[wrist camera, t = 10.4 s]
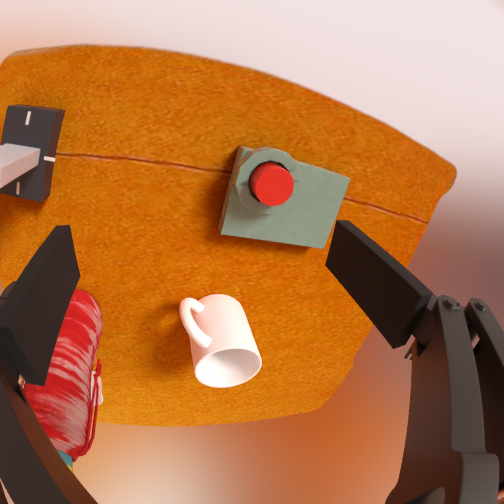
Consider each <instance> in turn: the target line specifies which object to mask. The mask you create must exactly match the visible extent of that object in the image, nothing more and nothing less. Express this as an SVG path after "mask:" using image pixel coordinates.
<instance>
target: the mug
mask: <svg viewBox="0 0 504 504" xmlns="http://www.w3.org/2000/svg"><path fill="white" fill-rule="evenodd" d="M179 312H180V317H181V321H182V323H183V325H184V328H185V329H186V331H187V333H188V334H189V338H190V345H191V352H192V359H193V366H194V372H195V376H196V378H197V379H198V380H199V381H200V382H201V383H203V384H205V385H208V386H211V387H219V388H223V387H232V386H236V385H239V384H242V383H244V382H246V381H248V380H249V379H251V378H252V377H254V376H255V375H256V374H257V373H258V371H259V370H260V368H261V364H262V360H261V357H260V354H259V351H258V349H257V346H256V343H255V340H254V338H253V335H252V332H251V330H250V327H249V324H248V321H247V319H246V316H245V313H244V310H243V308H242V306H241V305H240V303H239V302H238V301H237V300H236V299H234V298H233V297H230V296H228V295H224V294H213V295H208V296H205V297H203V298H201V299H199V300H198V301H197V300H195V299H193V298H185V299H183V300H182V301H181V303H180V307H179Z"/></svg>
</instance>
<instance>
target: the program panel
mask: <svg viewBox="0 0 504 504" xmlns="http://www.w3.org/2000/svg"><path fill="white" fill-rule="evenodd" d="M64 113H65V110H61V109H54V108H46V107H38V106H29V105H19V104H18V105H10V106H8V108H7V113H6V118H5V123H4V129H3V135H2V141H1V145H4V144H7V143H8V144H14V145H21V146H27V147H33V148H39V149H40V155H39V162H38V165H37V166H36V167H34V168H32V169H30V170H29V171H27V172H25V173H24V174H22V175H20V176H19V177H17V178H16V179H14V180H12V181H11V182H9V183H8V184H6V185H5V186H3V187H2V188H0V193H2V194H7V195H11V196H16V197H20V198H25V199H29V200H33V201H38V202H42V201H44V200H45V199H46V198H47V197H48V196H49V195H50V187H51V179H52V172H53V165H54V162H55V159H56V158H55V154H56V148H57V143H58V138H59V134H60V129H61V125H62V121H63V117H64Z"/></svg>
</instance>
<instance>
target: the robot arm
mask: <svg viewBox="0 0 504 504" xmlns="http://www.w3.org/2000/svg"><path fill="white" fill-rule="evenodd" d="M325 266H326V267H327V268H328V269H329V270H330V271H331V273H332V274H333V275H334V276H335V277H336V278H337V280H338V281H339V282H340V283H341V284H342V286H343V287H344V288H345V289H346V290H347V292H348V293H349V294H350V295H351V297H352V298H353V299H354V300H355V301H356V303H357V304H358V305H359V306H360V308H361V309H362V310H363V311H364V312H365V314H366V315H367V316H368V317H369V319H370V320H371V321H372V322H373V324H374V325H375V326H376V327H377V329H378V330H379V331H380V333H381V334H382V335H383V336H384V338H385V339H386V340H387V341H388V343H389V344H390V345H391V347H392V348H393V349H394V348H397V347H400V346H403V345H405V344H406V343H407V341H408V339H409V338H410V336H411V334H412V335H413V336H414V337H415V338H416V339H415V340H414V342H413V344H412V345H411V347H410V348H409V350H408V352H407V353H406V355H405V358H407V357H408V356H409V354H412V356H411V358H410V360H412V376H411V377H412V378H411V394H410V407H409V417H408V427H407V434H406V441H405V448H404V453H403V459H402V465H401V470H400V474H399V479H398V482H397V484H396V486H395V487H394V489H393V490H392V491H391V493H390V494H389V496H388V498H387V499H386V502H385V504H504V331H503V329H502V328H501V326H500V324H499V323H498V321H497V319H496V318H495V316H494V315H493V313H492V311H491V310H490V308H489V307H488V306H487V304H485V303H484V301H483V300H481V299H477V298H471V299H470V300H469V302H468V304H467V306H466V307H461V305H460V304H459V303H458V302H457V301H456V300H454V299H453V298H451V297H449V296H445V295H442V296H439V297H437V296H436V295H434V293H432V292H431V291H430V290H429V289H428V288H427V287H426V286H425V285H424V284H423V283H422V282H420V281H419V280H418V279H417V278H416V277H415V276H414V275H413V274H412V273H410V271H408V270H407V269H406V268H405V267H404V266H403V265H402V264H400V263H399V262H398V261H397V260H396V259H395V258H393V257H392V256H391V255H390V254H389V253H388V252H386V251H385V250H384V249H383V248H382V247H380V246H379V245H378V244H377V243H376V242H374V241H373V240H372V239H371V238H370V237H368V236H367V235H366V234H365V233H363V232H362V231H361V230H360V229H358V228H357V227H356V226H355V225H353V224H352V223H351V222H349V221H347V220H337V221H336V225H335V229H334V233H333V237H332V241H331V245H330V249H329V253H328V257H327V261H326V264H325ZM79 278H80V272H79V268H78V264H77V259H76V255H75V250H74V245H73V240H72V234H71V228H70V225H62V226H56V227H55V228H54V229H53V230H52V232H51V233H50V234H49V236H48V237H47V238H46V240H45V241H44V242H43V244H42V245H41V246H40V248H39V249H38V250H37V252H36V253H35V254H34V256H33V257H32V259H31V260H30V262H29V263H28V265H27V266H26V267H25V269H24V270H23V272H22V273H21V275H20V277H19V278H18V280H17V281H13V282H12V283H11V284H10V285H9V286H8V287H7V288H5V290H4V291H3V293H2V294H1V296H0V479H1V481H2V482H3V484H4V486H5V488H6V490H7V492H8V494H9V495H10V497H11V499H12V500H13V502H14V504H98V503H97V502H96V501H95V500H94V498H93V497H92V496H91V495H90V494H89V493H88V492H87V490H86V489H85V488H84V487H83V485H81V483H80V482H79V480H78V479H77V478H76V477H75V475H74V474H73V473H72V471H71V470H70V469H69V467H68V466H67V464H66V463H65V462H64V460H63V459H62V457H61V456H60V454H59V453H58V451H57V450H56V448H55V447H54V445H53V444H52V442H51V441H50V439H49V437H48V436H47V434H46V432H45V431H44V429H43V427H42V426H41V424H40V422H39V420H38V418H37V417H36V415H35V413H34V411H33V409H32V407H31V405H30V403H29V401H28V399H27V397H26V395H25V393H24V391H23V389H22V387H21V386H20V384H19V383H18V380H19V376H20V374H21V375H22V377H23V378H24V379H25V381H26V382H27V384H31V385H38V386H45V383H46V378H47V374H48V370H49V366H50V363H51V359H52V355H53V352H54V348H55V345H56V342H57V338H58V335H59V332H60V329H61V326H62V323H63V320H64V317H65V314H66V312H67V309H68V306H69V303H70V301H71V298H72V295H73V293H74V290H75V288H76V285H77V283H78V280H79ZM477 335H478V337H479V339H480V340H479V342H478V343H477V345H476V346H475V348H474V349H473V348H472V342H473V341H474V339H475V338H476V336H477ZM0 504H8V502H7V499H6V497H5V494H4V491H3V488H2V485H1V482H0Z"/></svg>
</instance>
